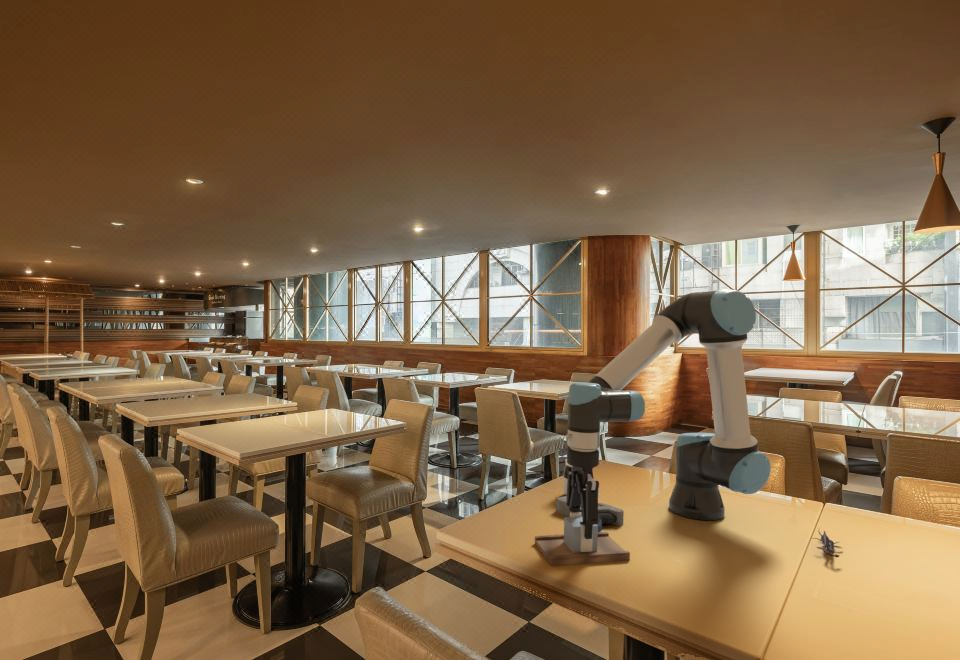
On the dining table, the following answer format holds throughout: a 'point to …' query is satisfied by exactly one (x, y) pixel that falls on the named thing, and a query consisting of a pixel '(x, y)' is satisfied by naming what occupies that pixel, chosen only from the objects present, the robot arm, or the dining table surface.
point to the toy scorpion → (827, 544)
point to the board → (563, 555)
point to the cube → (577, 534)
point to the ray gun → (605, 513)
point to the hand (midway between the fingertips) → (580, 544)
